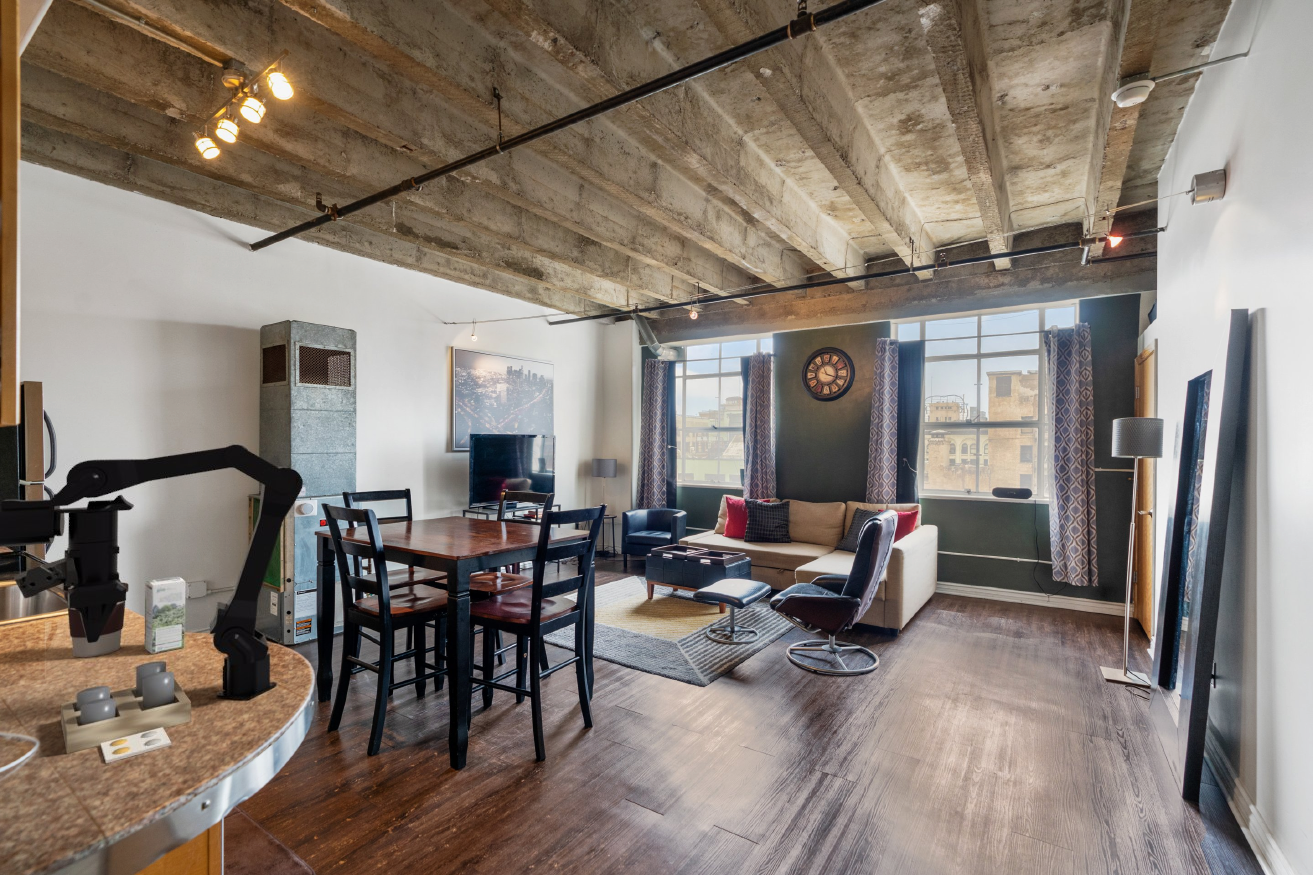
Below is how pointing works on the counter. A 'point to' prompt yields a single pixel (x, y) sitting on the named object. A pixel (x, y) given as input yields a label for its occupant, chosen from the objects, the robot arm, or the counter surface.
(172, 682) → the button
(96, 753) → the counter surface
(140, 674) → the button
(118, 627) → the coffee cup
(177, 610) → the syrup box
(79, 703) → the button
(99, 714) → the button
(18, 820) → the counter surface
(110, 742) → the pattern tile
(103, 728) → the button board
